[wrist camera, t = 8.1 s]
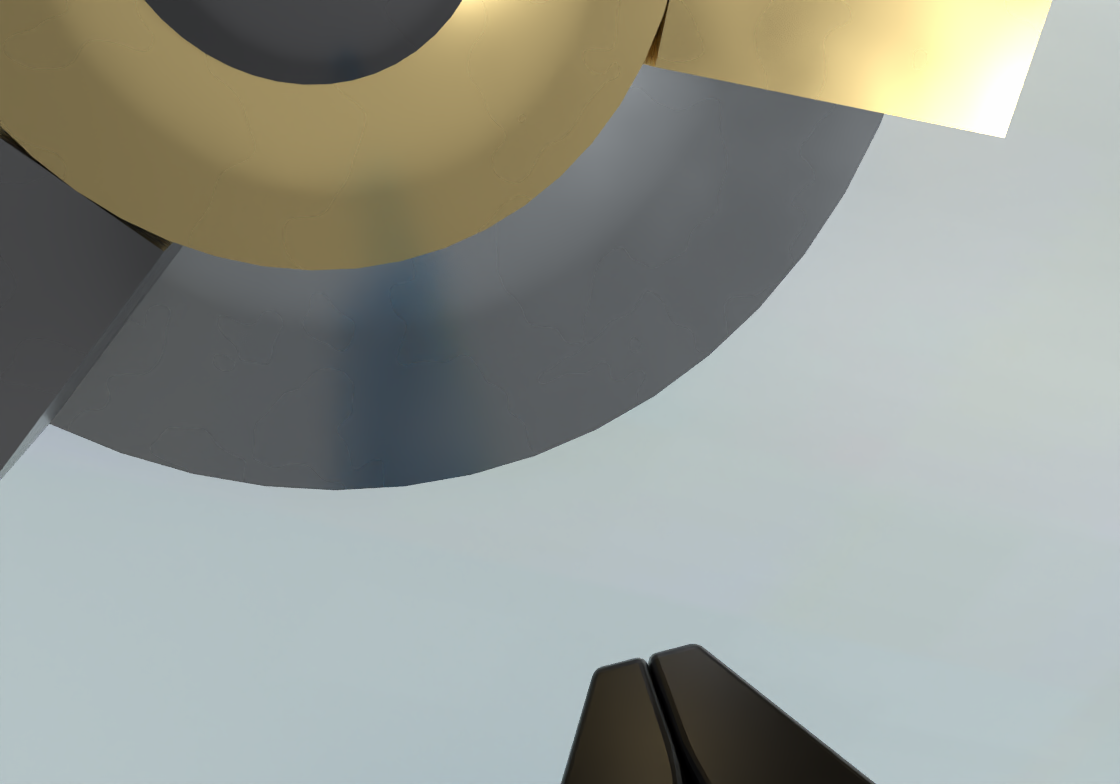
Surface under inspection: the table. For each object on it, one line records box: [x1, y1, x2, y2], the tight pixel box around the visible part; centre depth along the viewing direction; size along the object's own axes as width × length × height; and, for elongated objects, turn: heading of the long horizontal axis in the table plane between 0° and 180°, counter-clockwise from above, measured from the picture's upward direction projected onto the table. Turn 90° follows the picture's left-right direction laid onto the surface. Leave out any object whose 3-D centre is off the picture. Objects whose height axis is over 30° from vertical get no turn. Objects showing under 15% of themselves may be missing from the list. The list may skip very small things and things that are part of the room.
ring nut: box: [0, 0, 1052, 480], centre depth 13 cm, size 18×15×4 cm
